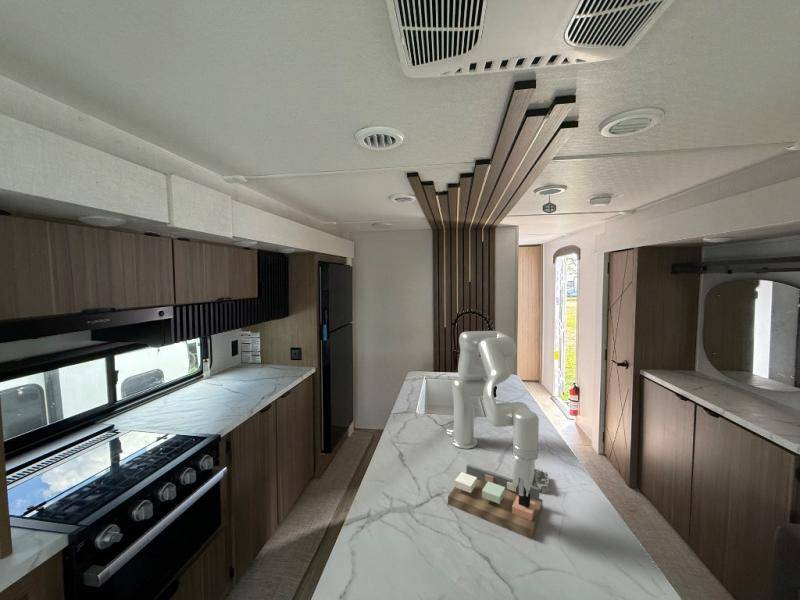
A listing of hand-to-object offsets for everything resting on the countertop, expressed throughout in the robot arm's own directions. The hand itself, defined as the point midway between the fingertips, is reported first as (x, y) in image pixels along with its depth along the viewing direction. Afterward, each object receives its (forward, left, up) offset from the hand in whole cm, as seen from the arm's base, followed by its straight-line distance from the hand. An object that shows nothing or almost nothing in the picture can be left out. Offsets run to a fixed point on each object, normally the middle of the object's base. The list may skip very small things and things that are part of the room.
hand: (524, 504), depth 105 cm
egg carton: (0, +23, -6) cm, 23 cm away
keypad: (-10, +2, -6) cm, 12 cm away
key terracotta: (0, 0, -2) cm, 2 cm away
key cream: (-20, 0, -1) cm, 20 cm away
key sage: (-10, 0, -1) cm, 10 cm away
